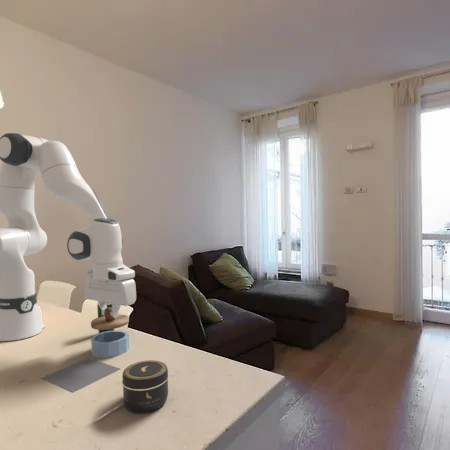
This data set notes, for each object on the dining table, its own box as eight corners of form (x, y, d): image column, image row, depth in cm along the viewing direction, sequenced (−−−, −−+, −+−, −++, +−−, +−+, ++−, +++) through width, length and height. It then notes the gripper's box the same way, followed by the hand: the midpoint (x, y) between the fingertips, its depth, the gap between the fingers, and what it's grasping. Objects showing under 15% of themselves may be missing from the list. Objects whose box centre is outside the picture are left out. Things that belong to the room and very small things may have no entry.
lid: (83, 326, 102) (82, 310, 102) (113, 316, 112) (112, 302, 111) (107, 332, 96) (106, 315, 96) (136, 321, 106) (135, 306, 106)
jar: (126, 420, 70) (125, 383, 69) (120, 396, 79) (119, 364, 79) (173, 408, 74) (172, 373, 73) (163, 387, 83) (162, 356, 83)
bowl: (84, 355, 103) (83, 339, 103) (113, 343, 112) (113, 328, 112) (107, 363, 97) (106, 345, 97) (136, 350, 106) (135, 334, 106)
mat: (40, 380, 87) (40, 377, 87) (88, 360, 99) (88, 357, 99) (72, 395, 80) (72, 392, 80) (120, 371, 91) (120, 368, 91)
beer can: (100, 337, 117) (99, 303, 117) (96, 333, 122) (95, 300, 121) (116, 334, 120) (115, 301, 120) (112, 330, 125) (110, 298, 124)
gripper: (78, 270, 106) (80, 314, 107) (121, 275, 95) (123, 324, 96) (95, 267, 112) (97, 309, 112) (138, 271, 101) (140, 318, 101)
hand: (109, 316), depth 104 cm, fingers closed on lid, 3 cm apart
